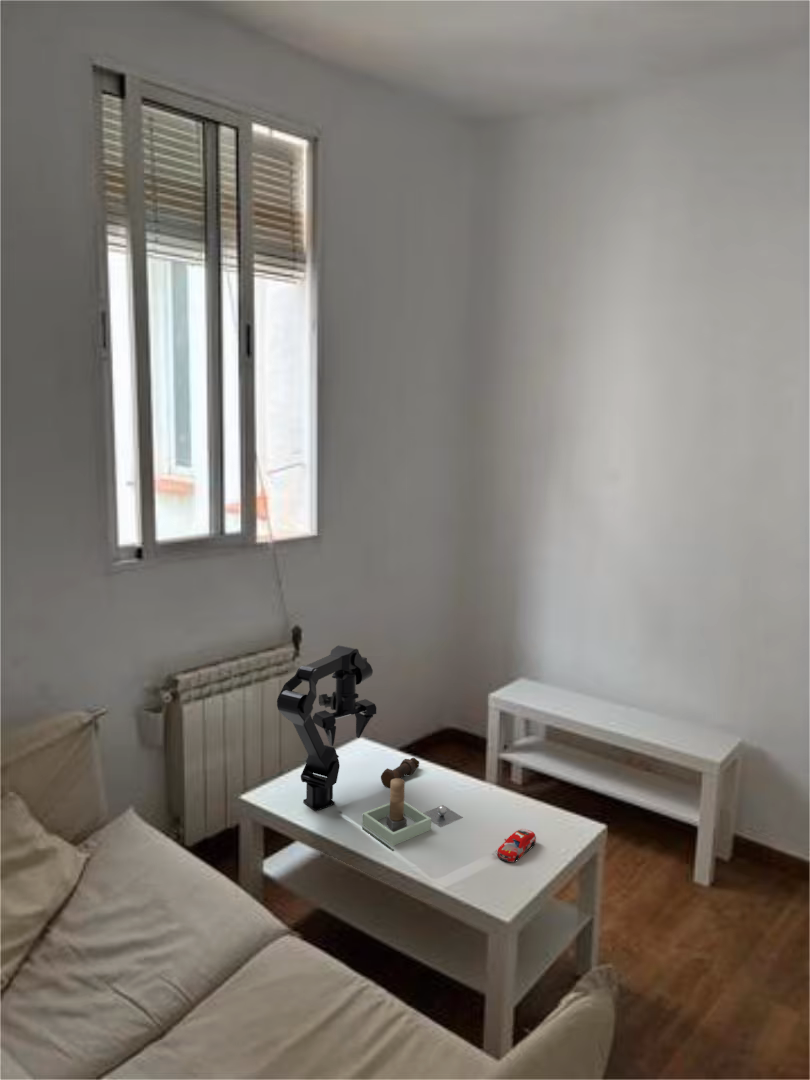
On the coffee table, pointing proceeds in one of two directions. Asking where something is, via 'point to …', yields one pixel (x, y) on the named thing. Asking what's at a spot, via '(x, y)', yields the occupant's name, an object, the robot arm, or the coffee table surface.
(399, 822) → the brown peg with base
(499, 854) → the race car
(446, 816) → the square lid with knob
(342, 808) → the coffee table surface
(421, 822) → the bin
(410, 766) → the bolt
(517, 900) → the coffee table surface
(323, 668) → the robot arm
